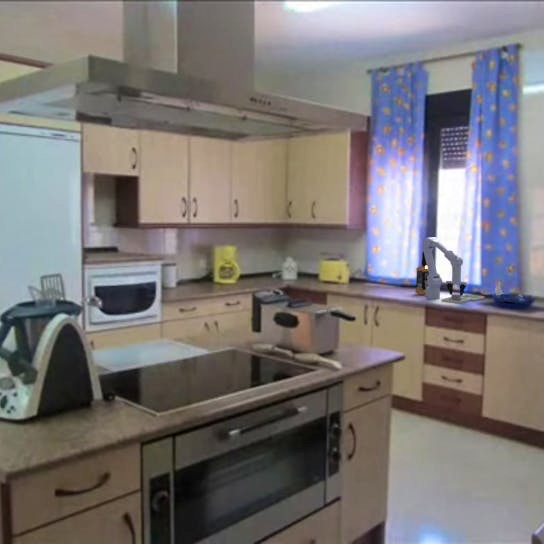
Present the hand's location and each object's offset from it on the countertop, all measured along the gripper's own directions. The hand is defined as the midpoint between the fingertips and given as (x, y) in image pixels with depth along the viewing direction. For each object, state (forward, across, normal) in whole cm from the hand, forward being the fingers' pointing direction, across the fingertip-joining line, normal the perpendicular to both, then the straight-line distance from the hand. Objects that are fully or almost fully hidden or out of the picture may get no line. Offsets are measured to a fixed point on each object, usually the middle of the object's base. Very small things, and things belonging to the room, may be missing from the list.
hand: (456, 295), depth 412 cm
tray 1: (+5, 0, 0) cm, 5 cm away
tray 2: (+5, +3, +14) cm, 16 cm away
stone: (+4, 0, 0) cm, 4 cm away
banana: (+6, +27, +22) cm, 36 cm away
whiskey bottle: (+5, -36, +18) cm, 41 cm away
